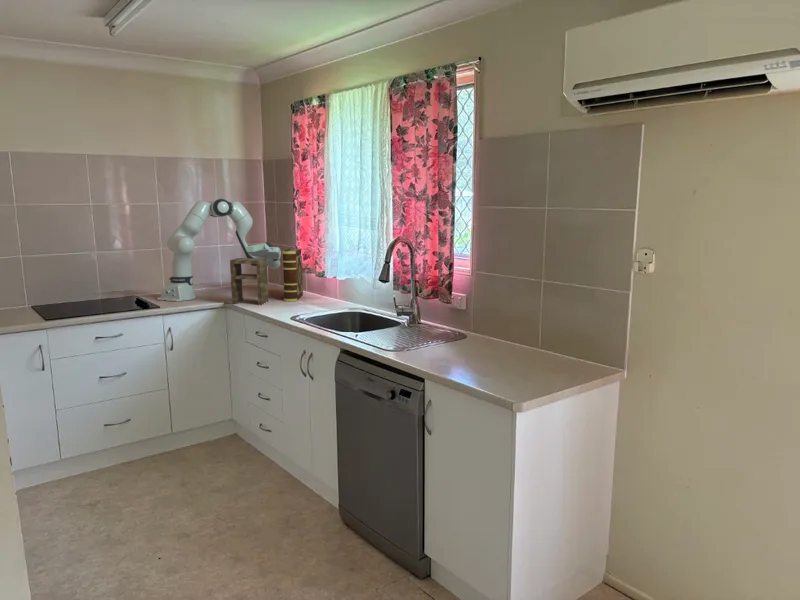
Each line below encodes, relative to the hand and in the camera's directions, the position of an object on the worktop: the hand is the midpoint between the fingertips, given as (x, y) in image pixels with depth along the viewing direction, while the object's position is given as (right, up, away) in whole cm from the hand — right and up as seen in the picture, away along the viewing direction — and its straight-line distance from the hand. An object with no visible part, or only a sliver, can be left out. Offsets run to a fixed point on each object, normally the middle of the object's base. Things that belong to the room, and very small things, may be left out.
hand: (259, 246), depth 362 cm
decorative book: (+20, -32, +4) cm, 38 cm away
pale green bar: (-1, -3, -6) cm, 7 cm away
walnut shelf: (-3, -35, -12) cm, 37 cm away
